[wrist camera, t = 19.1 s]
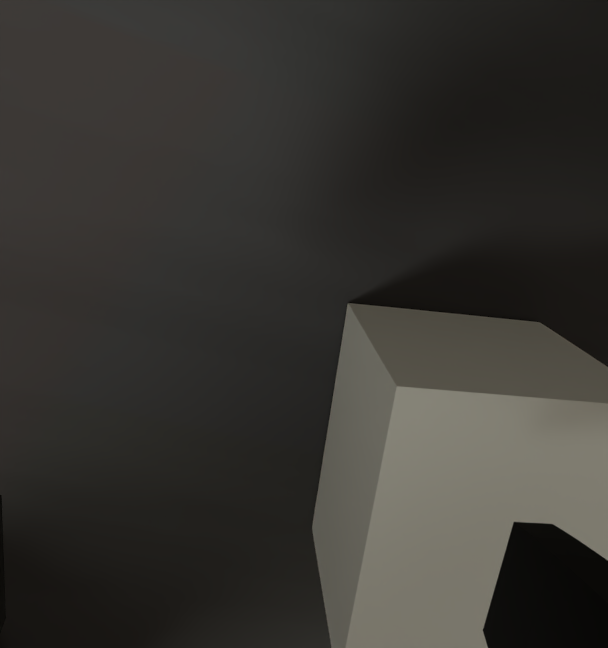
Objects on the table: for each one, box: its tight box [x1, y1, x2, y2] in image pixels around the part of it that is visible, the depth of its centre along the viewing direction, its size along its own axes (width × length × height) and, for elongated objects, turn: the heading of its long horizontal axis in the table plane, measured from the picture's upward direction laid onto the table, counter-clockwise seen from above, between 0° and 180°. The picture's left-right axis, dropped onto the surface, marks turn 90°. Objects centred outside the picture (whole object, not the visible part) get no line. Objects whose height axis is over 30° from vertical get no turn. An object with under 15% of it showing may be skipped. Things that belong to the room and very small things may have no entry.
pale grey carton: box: [312, 303, 608, 648], centre depth 17 cm, size 6×8×6 cm
